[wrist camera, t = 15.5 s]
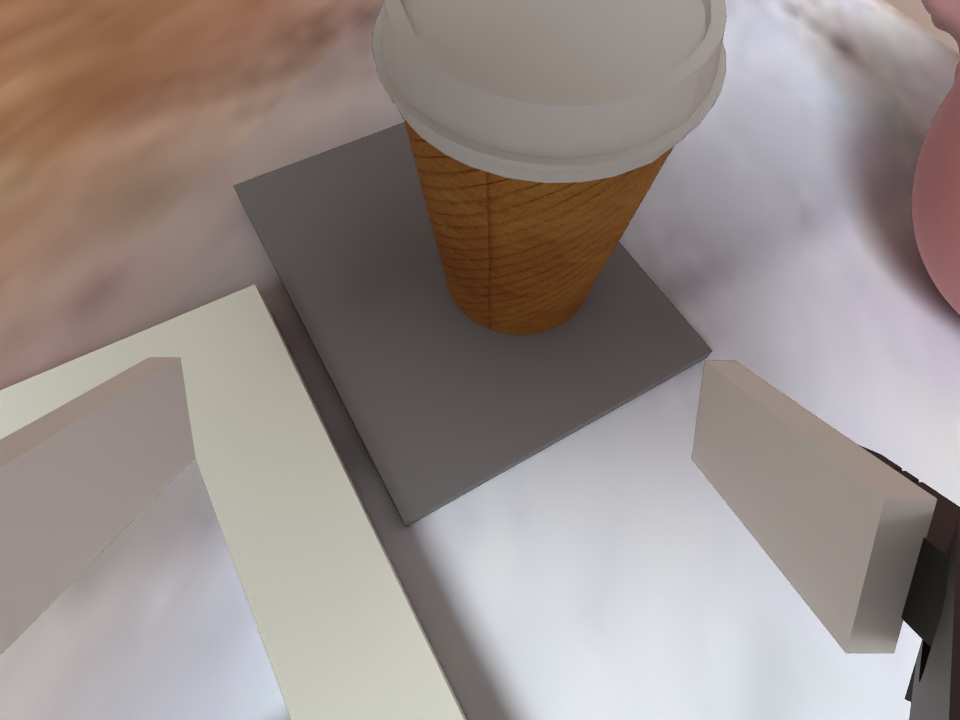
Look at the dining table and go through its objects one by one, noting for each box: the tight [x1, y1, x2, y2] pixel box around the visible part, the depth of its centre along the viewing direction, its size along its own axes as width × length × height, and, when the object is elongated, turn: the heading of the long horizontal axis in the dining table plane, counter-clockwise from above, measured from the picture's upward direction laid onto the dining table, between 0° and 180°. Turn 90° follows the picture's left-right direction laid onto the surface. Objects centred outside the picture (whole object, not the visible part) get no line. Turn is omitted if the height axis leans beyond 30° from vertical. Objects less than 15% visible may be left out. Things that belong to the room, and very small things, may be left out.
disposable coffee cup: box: [372, 0, 727, 335], centre depth 20 cm, size 10×10×12 cm
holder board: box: [0, 284, 467, 720], centre depth 17 cm, size 20×20×2 cm
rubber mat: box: [234, 123, 712, 527], centre depth 26 cm, size 18×14×1 cm
